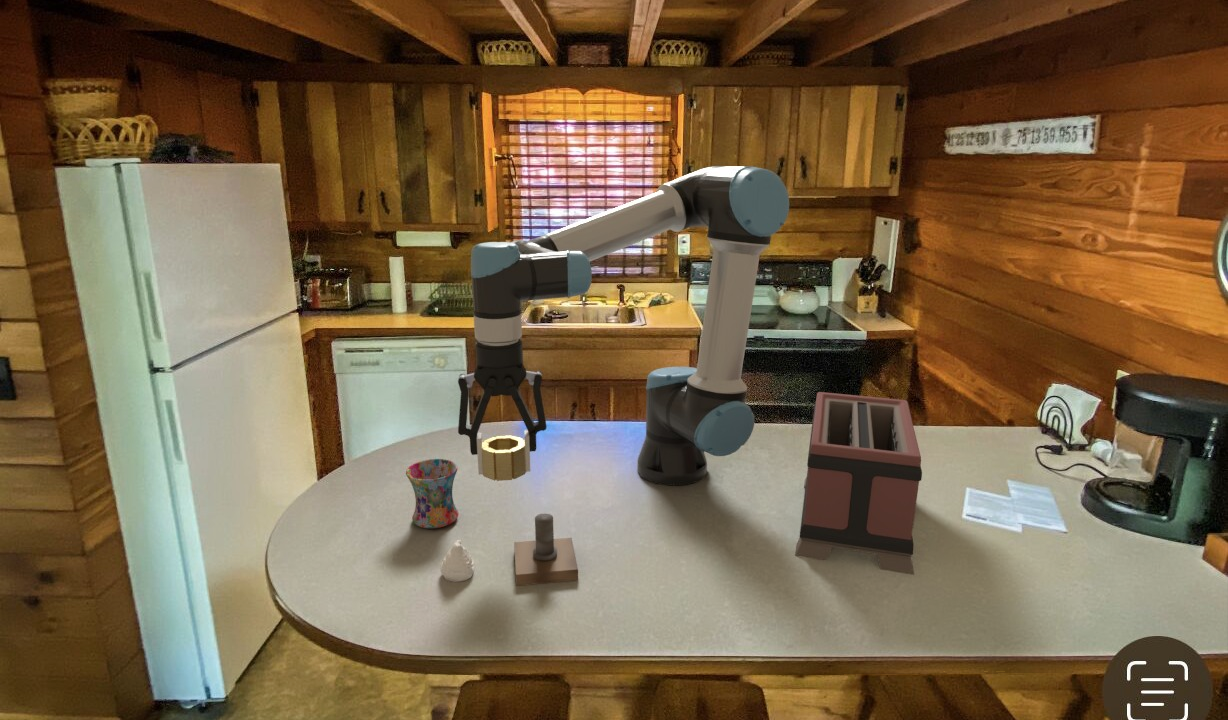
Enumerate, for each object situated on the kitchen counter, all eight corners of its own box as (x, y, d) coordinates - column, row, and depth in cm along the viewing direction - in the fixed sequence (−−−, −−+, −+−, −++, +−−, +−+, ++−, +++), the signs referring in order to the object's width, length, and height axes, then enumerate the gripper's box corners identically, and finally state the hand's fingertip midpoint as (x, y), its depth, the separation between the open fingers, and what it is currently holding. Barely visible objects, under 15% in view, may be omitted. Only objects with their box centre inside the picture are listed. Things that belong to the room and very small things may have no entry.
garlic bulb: (468, 551, 115) (434, 550, 115) (470, 584, 116) (437, 583, 116) (475, 533, 120) (443, 533, 120) (477, 565, 122) (445, 564, 122)
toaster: (900, 486, 150) (911, 393, 145) (914, 575, 119) (929, 461, 113) (805, 474, 156) (813, 384, 150) (794, 556, 125) (804, 446, 119)
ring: (525, 461, 127) (524, 434, 125) (526, 479, 120) (525, 451, 118) (483, 463, 126) (482, 436, 124) (482, 481, 119) (481, 453, 117)
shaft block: (571, 547, 127) (571, 501, 124) (578, 580, 117) (577, 530, 115) (514, 552, 125) (512, 505, 123) (516, 585, 116) (514, 535, 113)
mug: (452, 534, 131) (448, 481, 128) (402, 531, 132) (398, 479, 129) (470, 503, 143) (467, 453, 140) (425, 501, 143) (421, 451, 140)
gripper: (559, 331, 121) (562, 457, 128) (437, 336, 118) (446, 463, 125) (562, 343, 114) (565, 475, 120) (432, 348, 111) (442, 483, 118)
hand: (504, 469), depth 123 cm, fingers closed on ring, 7 cm apart
